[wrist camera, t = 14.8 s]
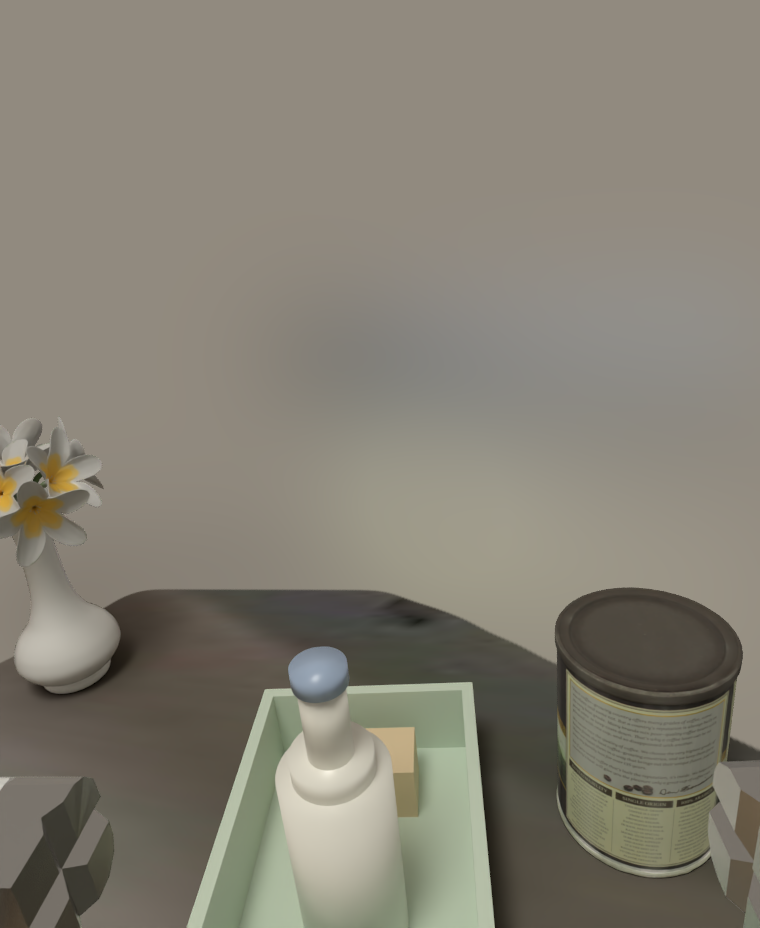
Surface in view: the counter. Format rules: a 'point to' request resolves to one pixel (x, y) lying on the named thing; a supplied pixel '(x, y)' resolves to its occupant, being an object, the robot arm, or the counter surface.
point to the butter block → (402, 766)
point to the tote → (422, 838)
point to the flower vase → (53, 558)
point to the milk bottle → (339, 806)
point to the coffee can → (642, 725)
